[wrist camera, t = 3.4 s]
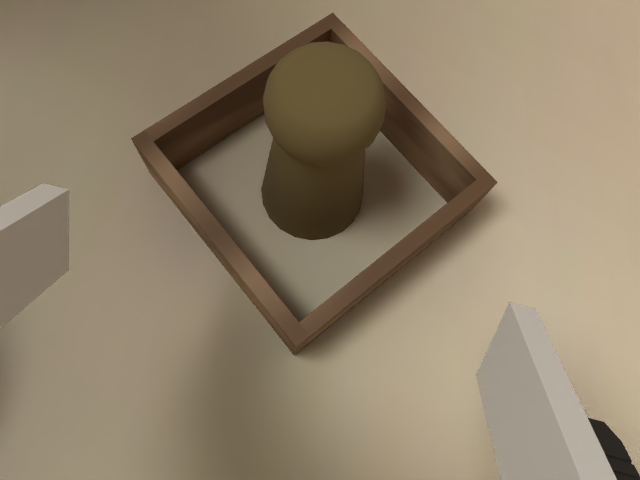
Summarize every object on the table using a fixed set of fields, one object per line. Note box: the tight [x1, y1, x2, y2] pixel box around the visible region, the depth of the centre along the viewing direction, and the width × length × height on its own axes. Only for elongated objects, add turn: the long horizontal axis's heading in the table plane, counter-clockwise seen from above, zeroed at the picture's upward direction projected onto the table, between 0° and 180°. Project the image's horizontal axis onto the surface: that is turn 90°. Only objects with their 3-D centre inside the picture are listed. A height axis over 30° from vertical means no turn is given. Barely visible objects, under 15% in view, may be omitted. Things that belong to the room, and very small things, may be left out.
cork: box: [261, 41, 386, 240], centre depth 25 cm, size 6×6×11 cm
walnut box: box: [131, 13, 497, 355], centre depth 29 cm, size 14×14×4 cm
